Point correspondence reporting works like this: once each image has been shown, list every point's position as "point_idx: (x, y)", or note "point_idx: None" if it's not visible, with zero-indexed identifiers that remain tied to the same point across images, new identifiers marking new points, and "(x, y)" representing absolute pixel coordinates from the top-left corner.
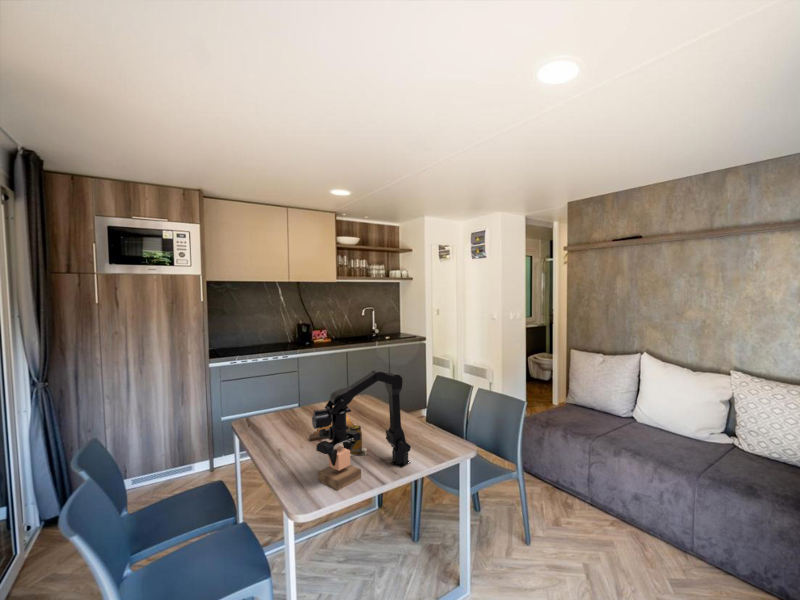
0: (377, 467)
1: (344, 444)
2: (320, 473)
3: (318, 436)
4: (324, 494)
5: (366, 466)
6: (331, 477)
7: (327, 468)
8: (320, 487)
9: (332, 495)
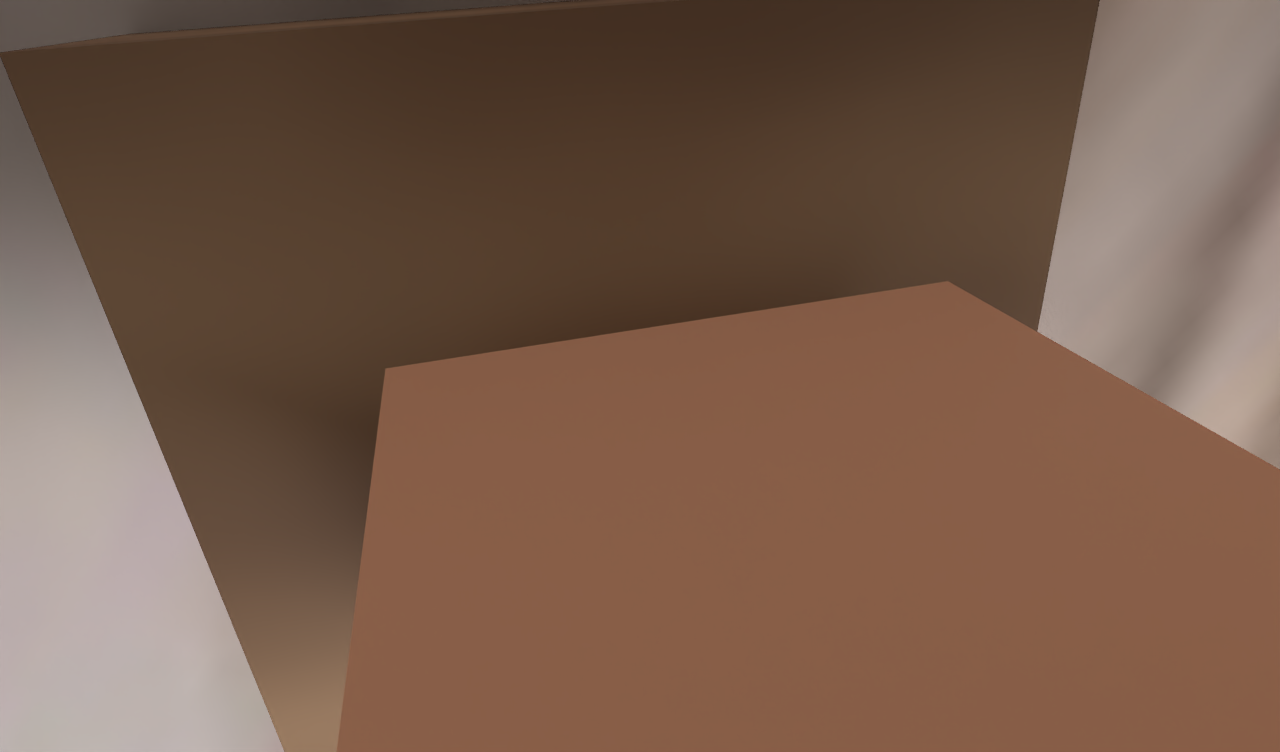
0: (1277, 429)
1: None
2: (74, 192)
3: None
4: (34, 659)
5: (1253, 279)
6: (264, 655)
7: (446, 103)
8: (50, 391)
9: (172, 745)
